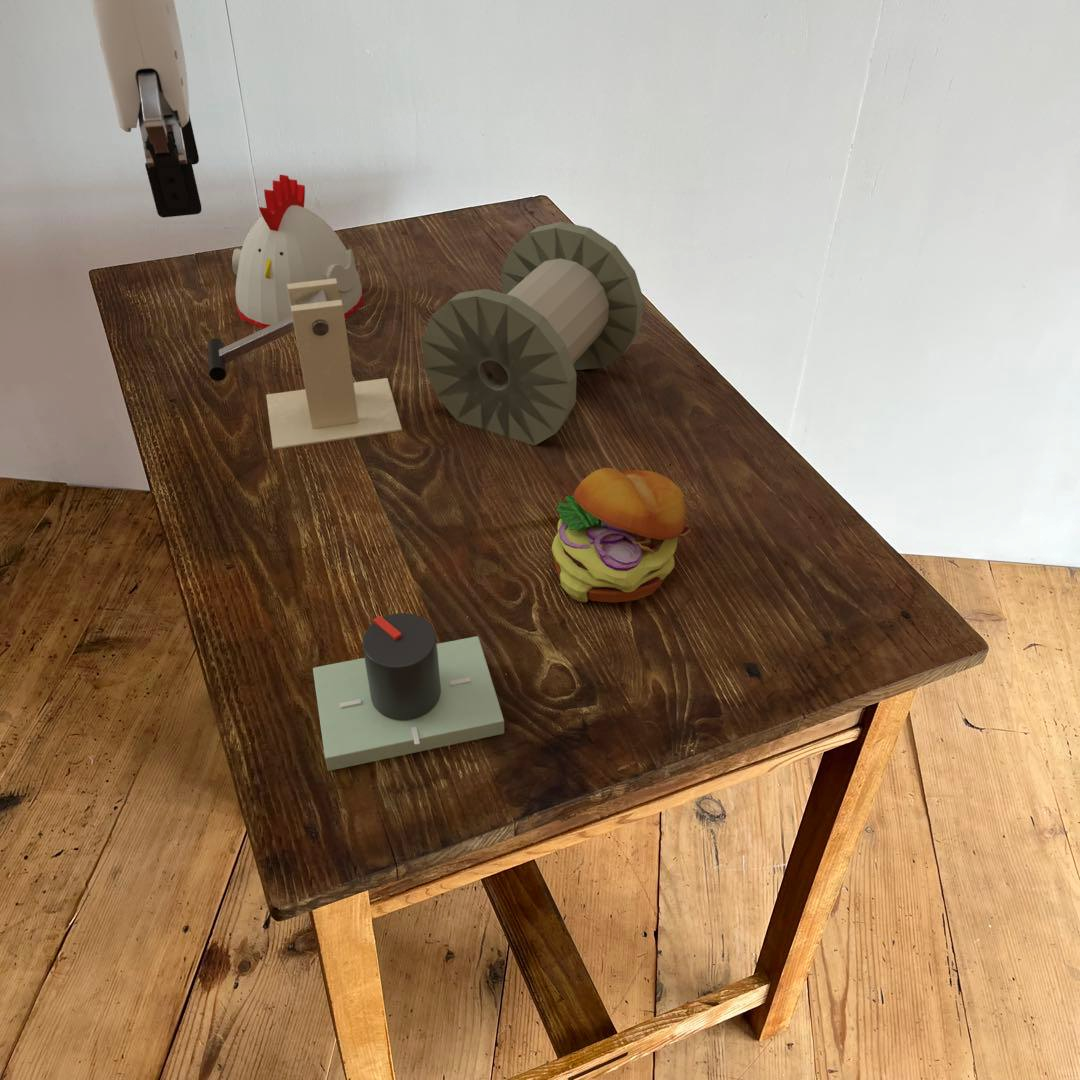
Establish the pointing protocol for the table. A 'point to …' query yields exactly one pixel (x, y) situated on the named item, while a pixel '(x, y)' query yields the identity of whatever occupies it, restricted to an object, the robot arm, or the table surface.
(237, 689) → the table surface
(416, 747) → the dial panel
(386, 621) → the knob
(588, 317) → the spool
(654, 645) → the table surface
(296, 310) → the wooden stand
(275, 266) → the kitchen timer
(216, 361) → the lever
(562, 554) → the cheeseburger
